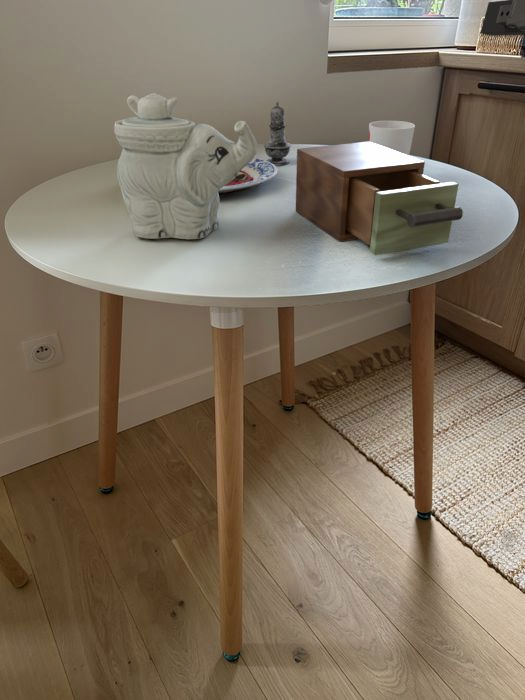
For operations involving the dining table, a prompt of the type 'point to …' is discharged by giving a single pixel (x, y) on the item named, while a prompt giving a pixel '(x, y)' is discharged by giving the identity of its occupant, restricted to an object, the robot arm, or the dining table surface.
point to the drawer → (400, 210)
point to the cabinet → (340, 180)
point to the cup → (392, 135)
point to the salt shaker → (277, 138)
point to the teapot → (175, 169)
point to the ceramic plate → (251, 175)
